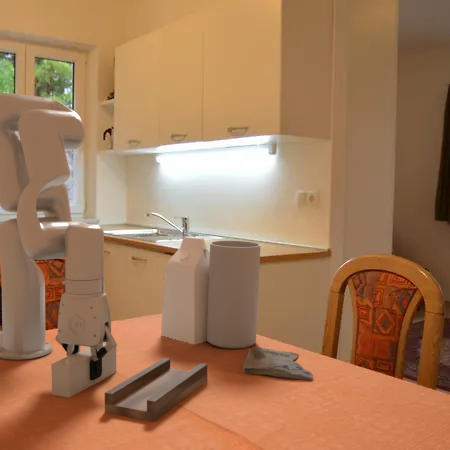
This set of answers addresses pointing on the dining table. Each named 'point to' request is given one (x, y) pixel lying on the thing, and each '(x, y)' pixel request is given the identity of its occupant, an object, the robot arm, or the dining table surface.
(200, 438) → the dining table surface
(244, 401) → the dining table surface
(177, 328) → the milk
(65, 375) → the beige rectangular block
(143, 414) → the brown long channel piece
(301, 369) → the fossil rock
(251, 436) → the dining table surface
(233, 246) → the cylinder vase
